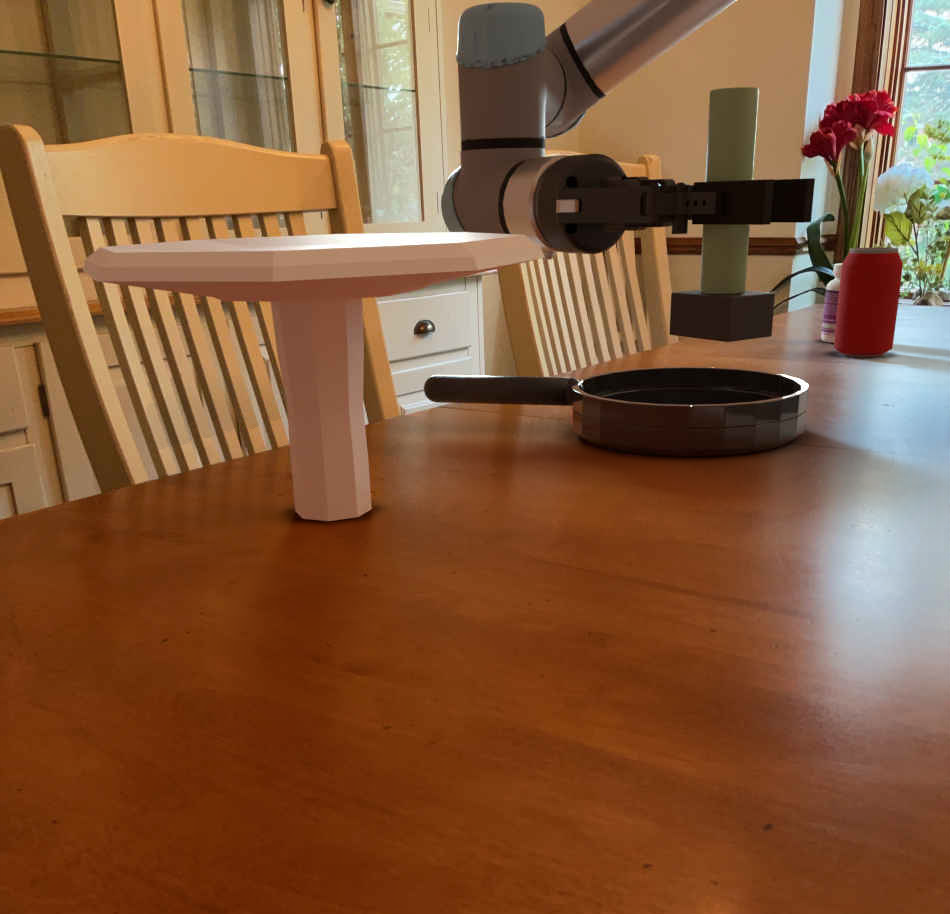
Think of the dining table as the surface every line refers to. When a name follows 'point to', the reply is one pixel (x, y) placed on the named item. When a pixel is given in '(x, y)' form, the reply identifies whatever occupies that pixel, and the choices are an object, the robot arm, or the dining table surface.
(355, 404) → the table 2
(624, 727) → the dining table surface
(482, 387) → the pan handle
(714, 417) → the frying pan
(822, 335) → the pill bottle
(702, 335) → the green peg on base
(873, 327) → the beverage can
